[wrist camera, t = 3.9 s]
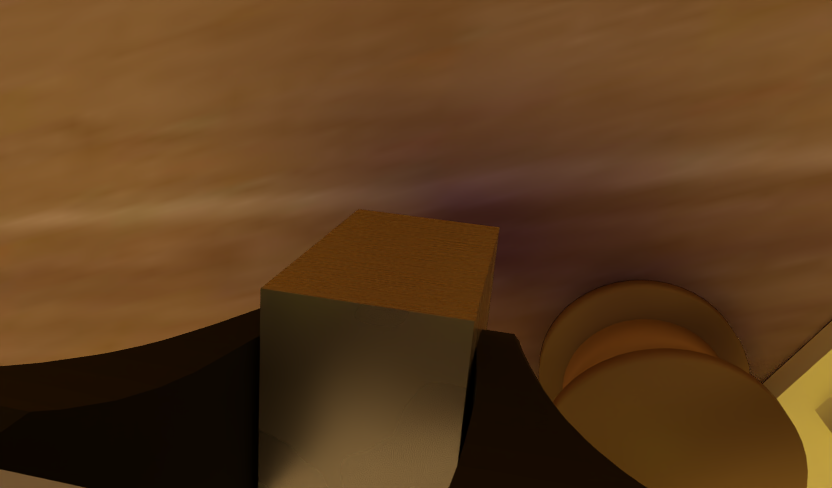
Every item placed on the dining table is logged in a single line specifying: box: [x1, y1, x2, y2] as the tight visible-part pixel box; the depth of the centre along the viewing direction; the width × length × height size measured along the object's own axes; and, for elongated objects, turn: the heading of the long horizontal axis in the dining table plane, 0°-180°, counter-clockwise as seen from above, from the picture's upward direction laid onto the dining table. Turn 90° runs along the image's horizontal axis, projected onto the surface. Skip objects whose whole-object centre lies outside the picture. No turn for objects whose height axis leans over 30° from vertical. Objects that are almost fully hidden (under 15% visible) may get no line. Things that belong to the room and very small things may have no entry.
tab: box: [258, 209, 500, 488], centre depth 12 cm, size 3×4×5 cm, turn 175°
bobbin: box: [539, 280, 808, 488], centre depth 18 cm, size 6×6×5 cm
